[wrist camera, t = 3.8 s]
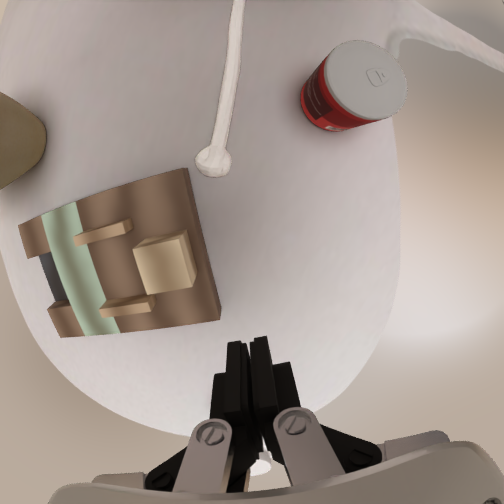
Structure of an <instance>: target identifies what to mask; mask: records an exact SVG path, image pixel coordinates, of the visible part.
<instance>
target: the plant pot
mask: <svg viewBox="0 0 504 504" xmlns="http://www.w3.org/2000/svg"><path fill="white" fill-rule="evenodd" d="M45 145H46V130H45V127H44V125H43V123H42V122H41V121H40V120H39V119H38V118H37V117H36V116H35V115H34V114H32V113H31V112H30V111H29V110H28V109H26V108H25V107H24V106H22V105H21V104H19V103H18V102H16V101H15V100H13V99H12V98H10V97H9V96H7V95H5V94H3V93H1V92H0V189H2V188H4V187H5V186H7V185H8V184H10V183H11V182H13V181H14V180H16V179H17V178H18V177H20V176H21V175H23V174H24V173H25V172H27V171H28V170H29V169H31V168H32V167H33V166H35V165H36V164H37V163H38V161H39V160H40V159H41V157H42V155H43V152H44V149H45Z"/></svg>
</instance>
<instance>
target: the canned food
mask: <svg viewBox="0 0 504 504" xmlns="http://www.w3.org/2000/svg"><path fill="white" fill-rule="evenodd" d="M406 97H407V82H406V77H405V75H404V72H403V70H402V68H401V67H400V65H399V63H398V62H397V61H396V59H395V58H394V57H393V56H392V55H391V54H390V53H388V52H387V51H386V50H385V49H383V48H381V47H380V46H378V45H376V44H373V43H371V42H367V41H360V40H354V41H348V42H345V43H342V44H340V45H339V46H337V47H336V48H334V49H333V50H332V51H331V52H330V53H329V54H328V56H327V57H326V58H325V59H324V60H323V61H322V63H321V64H320V65H319V66H318V68H317V69H316V70H315V71H314V73H313V74H312V75H311V76H310V78H309V79H308V80H307V81H306V83H305V84H304V86H303V88H302V91H301V105H302V108H303V110H304V113H305V114H306V116H307V117H308V118H309V119H310V120H311V121H312V122H313V123H314V124H315V125H317V126H318V127H320V128H322V129H325V130H329V131H344V130H347V129H351V128H354V127H358V126H361V125H365V124H368V123H372V122H376V121H379V120H382V119H386V118H388V117H390V116H392V115H394V114H396V113H397V112H398V111H399V110H400V109H401V108H402V106H403V105H404V103H405V100H406Z"/></svg>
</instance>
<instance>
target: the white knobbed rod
mask: <svg viewBox="0 0 504 504" xmlns="http://www.w3.org/2000/svg"><path fill="white" fill-rule="evenodd" d="M245 1H246V0H233V6H232V11H231V17H230V22H229V31H228V49H227V56H226V63H225V70H224V76H223V81H222V87H221V92H220V98H219V104H218V110H217V116H216V121H215V127H214V131H213V135H212V139H211V143H210V146H208V147H206V148H204V149H203V150H201V151H200V152H199V153H198V155H197V156H196V158H195V163H196V166H197V167H198V169H199V171H200V172H201V173H203V174H204V175H206V176H208V177H222V176H224V175H227V174H228V171H229V169H230V166H231V164H232V159H231V156H230V154H229V153H228V152H227V150H226V148H225V146H226V142H227V138H228V133H229V127H230V122H231V118H232V113H233V107H234V101H235V95H236V88H237V83H238V78H239V73H240V68H241V42H242V32H243V20H244V7H245Z"/></svg>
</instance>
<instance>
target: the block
mask: <svg viewBox="0 0 504 504" xmlns="http://www.w3.org/2000/svg"><path fill="white" fill-rule="evenodd" d="M132 250H133V253H134V256H135V260H136V263H137V266H138V269H139V272H140V275H141V278H142V281H143V284H144V287H145V290H146V293H147V295H149V294H155V293H161V292H167V291H173V290H178V289H184V288H190V287H192V286H193V284H194V281H195V278H196V276H197V273H198V271H197V267H196V264H195V260H194V256H193V252H192V249H191V245H190V241H189V237H188V233H187V230H182V231H178V232H173V233H169V234H164V235H160V236H156V237H151V238H147V239H144V240H143V241H142V242H141V243H139V244H138V245H137V246H136V247H135V248H133V249H132Z"/></svg>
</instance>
